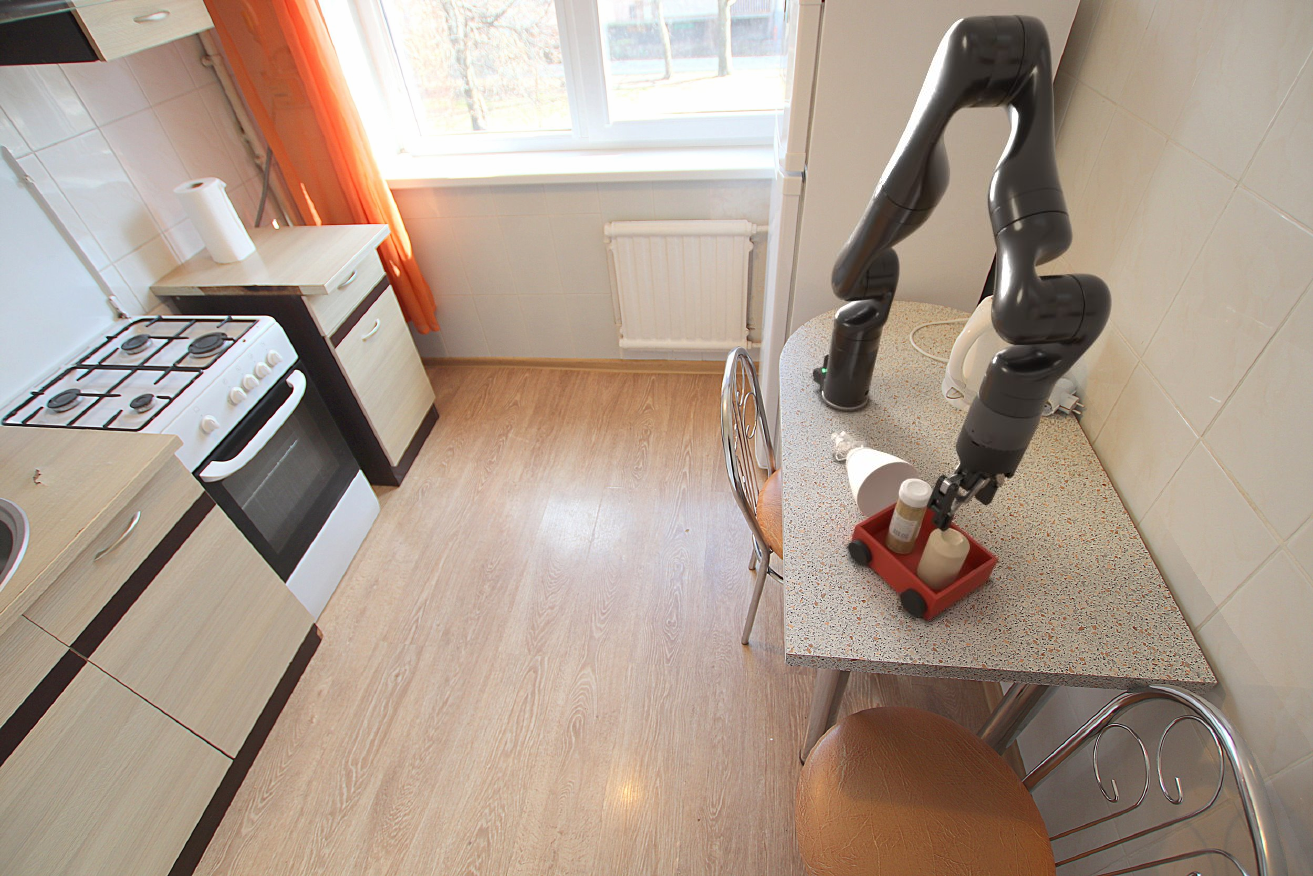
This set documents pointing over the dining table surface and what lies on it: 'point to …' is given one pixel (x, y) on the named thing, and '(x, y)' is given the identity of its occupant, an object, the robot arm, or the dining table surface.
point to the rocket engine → (873, 474)
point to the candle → (942, 558)
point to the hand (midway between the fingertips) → (960, 513)
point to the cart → (904, 566)
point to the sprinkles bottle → (908, 515)
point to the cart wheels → (908, 598)
